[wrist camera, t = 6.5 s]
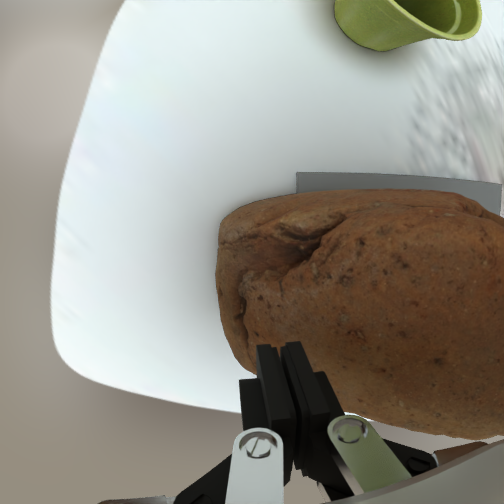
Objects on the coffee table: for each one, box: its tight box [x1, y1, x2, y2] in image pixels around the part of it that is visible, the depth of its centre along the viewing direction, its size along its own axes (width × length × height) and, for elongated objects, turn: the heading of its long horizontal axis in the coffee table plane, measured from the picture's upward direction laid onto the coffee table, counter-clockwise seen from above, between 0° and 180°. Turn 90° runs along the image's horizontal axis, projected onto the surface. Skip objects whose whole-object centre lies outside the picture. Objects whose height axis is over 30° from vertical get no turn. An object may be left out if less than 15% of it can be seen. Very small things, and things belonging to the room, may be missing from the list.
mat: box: [297, 172, 502, 216], centre depth 24 cm, size 22×14×1 cm, turn 92°
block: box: [215, 188, 504, 440], centre depth 14 cm, size 11×8×20 cm
